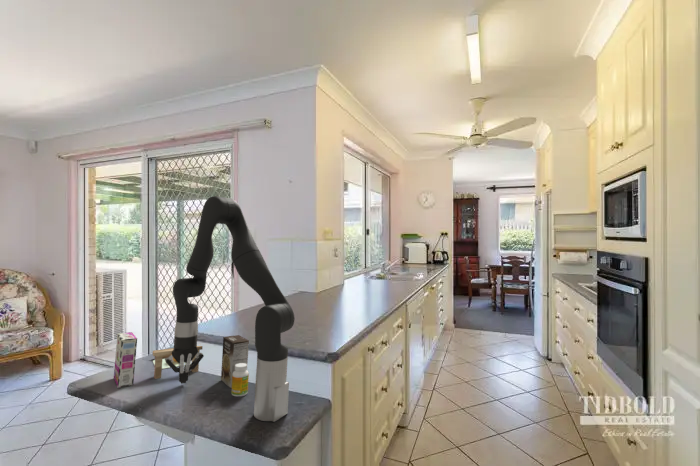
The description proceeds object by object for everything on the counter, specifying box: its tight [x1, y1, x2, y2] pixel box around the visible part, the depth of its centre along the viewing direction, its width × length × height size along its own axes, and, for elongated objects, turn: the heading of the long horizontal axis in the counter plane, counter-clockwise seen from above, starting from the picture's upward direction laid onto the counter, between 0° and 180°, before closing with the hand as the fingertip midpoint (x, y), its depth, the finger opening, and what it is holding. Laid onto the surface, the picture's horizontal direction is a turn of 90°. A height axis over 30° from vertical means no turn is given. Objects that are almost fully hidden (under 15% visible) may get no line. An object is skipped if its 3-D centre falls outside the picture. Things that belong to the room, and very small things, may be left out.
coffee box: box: [220, 334, 250, 389], centre depth 124 cm, size 9×6×16 cm
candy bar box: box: [113, 332, 138, 389], centre depth 121 cm, size 11×5×16 cm, turn 42°
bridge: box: [152, 345, 203, 380], centre depth 129 cm, size 3×17×10 cm, turn 127°
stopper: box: [154, 354, 171, 360], centre depth 147 cm, size 2×10×2 cm, turn 127°
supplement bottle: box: [230, 363, 250, 397], centre depth 115 cm, size 5×5×10 cm
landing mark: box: [152, 359, 179, 370], centre depth 140 cm, size 12×12×1 cm
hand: (183, 382), depth 119 cm, fingers closed
